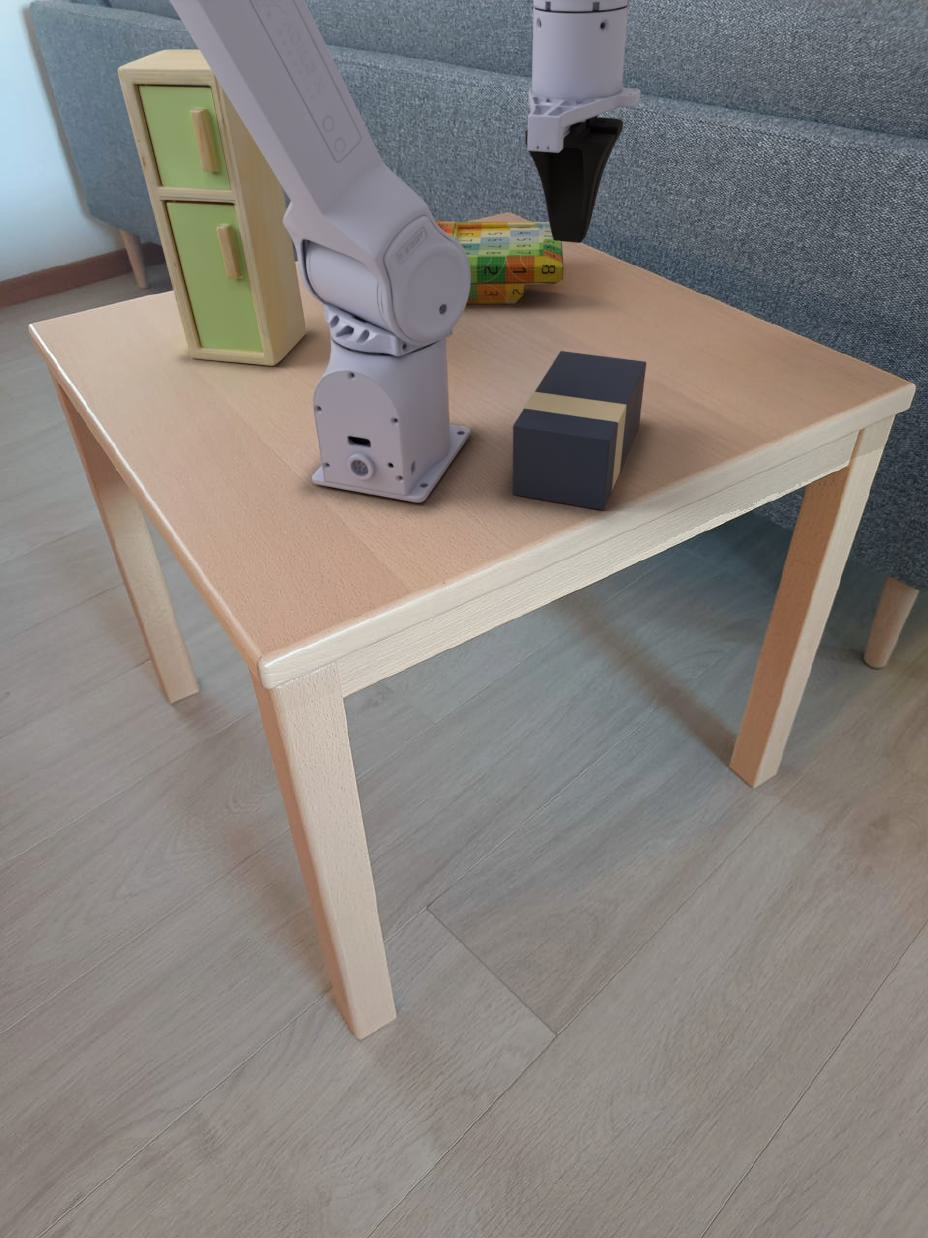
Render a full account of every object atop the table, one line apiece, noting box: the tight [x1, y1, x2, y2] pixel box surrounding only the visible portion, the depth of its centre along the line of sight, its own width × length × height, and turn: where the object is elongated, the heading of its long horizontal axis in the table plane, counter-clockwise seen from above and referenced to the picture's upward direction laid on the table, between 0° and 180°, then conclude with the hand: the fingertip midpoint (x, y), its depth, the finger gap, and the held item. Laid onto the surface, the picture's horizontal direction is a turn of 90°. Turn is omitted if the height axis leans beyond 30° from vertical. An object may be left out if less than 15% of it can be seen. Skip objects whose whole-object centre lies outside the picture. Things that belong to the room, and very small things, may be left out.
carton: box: [511, 350, 647, 511], centre depth 59 cm, size 5×6×11 cm
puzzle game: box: [435, 220, 564, 305], centre depth 83 cm, size 12×5×20 cm
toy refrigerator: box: [117, 48, 307, 367], centre depth 68 cm, size 8×7×21 cm
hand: (569, 238), depth 63 cm, fingers closed
